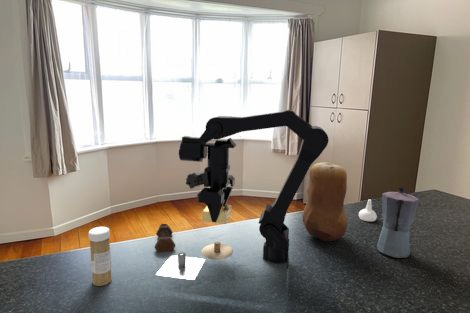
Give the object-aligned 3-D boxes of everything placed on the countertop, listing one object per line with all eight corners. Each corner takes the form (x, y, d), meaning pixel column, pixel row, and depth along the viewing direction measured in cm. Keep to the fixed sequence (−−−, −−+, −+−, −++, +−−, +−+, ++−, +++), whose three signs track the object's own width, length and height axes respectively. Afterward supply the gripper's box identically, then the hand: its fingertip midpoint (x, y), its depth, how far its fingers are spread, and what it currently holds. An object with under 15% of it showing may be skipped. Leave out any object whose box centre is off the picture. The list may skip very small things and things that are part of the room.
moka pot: (409, 245, 97) (418, 184, 93) (414, 269, 84) (424, 198, 80) (376, 238, 101) (383, 179, 97) (375, 260, 88) (383, 193, 84)
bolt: (166, 238, 103) (168, 259, 89) (152, 231, 102) (152, 252, 87) (175, 222, 103) (178, 242, 89) (161, 216, 101) (162, 235, 87)
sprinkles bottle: (94, 277, 77) (90, 226, 74) (113, 275, 78) (110, 225, 75) (90, 288, 73) (86, 235, 70) (111, 285, 74) (108, 233, 71)
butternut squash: (344, 232, 105) (351, 160, 101) (346, 251, 93) (354, 170, 88) (302, 227, 109) (307, 157, 104) (299, 244, 96) (305, 166, 92)
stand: (235, 248, 93) (235, 237, 92) (229, 264, 84) (229, 252, 83) (206, 245, 94) (206, 234, 94) (197, 260, 86) (197, 248, 85)
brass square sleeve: (231, 215, 90) (231, 205, 89) (226, 224, 83) (226, 213, 83) (209, 212, 91) (209, 203, 90) (202, 221, 85) (202, 211, 84)
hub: (205, 262, 85) (205, 247, 84) (194, 283, 75) (194, 266, 74) (171, 258, 87) (171, 243, 86) (155, 278, 77) (155, 261, 76)
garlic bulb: (359, 222, 116) (362, 202, 113) (357, 214, 122) (359, 196, 119) (377, 224, 114) (380, 204, 112) (374, 216, 120) (376, 197, 118)
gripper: (199, 154, 94) (199, 203, 98) (177, 168, 76) (178, 227, 80) (235, 157, 92) (234, 206, 95) (221, 171, 74) (220, 232, 77)
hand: (217, 217), depth 87 cm, fingers closed on brass square sleeve, 7 cm apart
